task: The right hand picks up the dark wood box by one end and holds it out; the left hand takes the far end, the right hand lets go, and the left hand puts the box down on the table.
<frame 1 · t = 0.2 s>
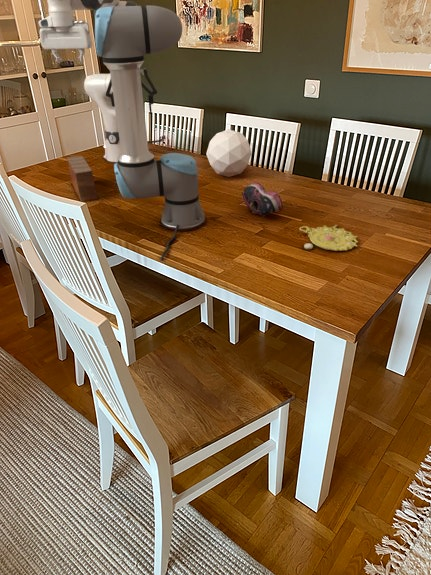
left hand: (70, 62, 174), 47 cm above the table, tool pointing down, fingers open, 8 cm apart
right hand: (134, 114, 180), 28 cm above the table, tool pointing down, fingers open, 13 cm apart
box: (84, 191, 185), on the table
athletic shoe: (257, 211, 163), on the table
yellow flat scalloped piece: (328, 239, 142), on the table
sphere: (229, 174, 198), on the table
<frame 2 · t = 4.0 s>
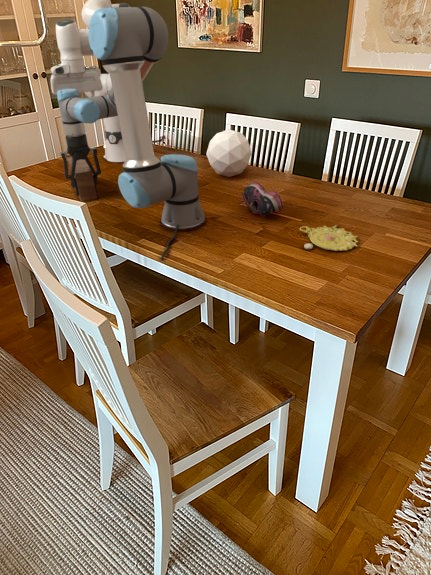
left hand: (80, 104, 184), 31 cm above the table, tool pointing down, fingers open, 8 cm apart
right hand: (86, 193, 177), 2 cm above the table, tool pointing down, fingers closed on box, 6 cm apart
box: (84, 191, 185), on the table, touching right hand
everything else where it was.
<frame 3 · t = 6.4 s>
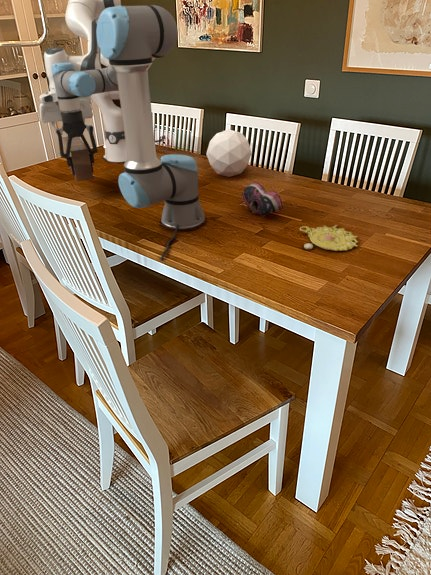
left hand: (70, 131, 180), 23 cm above the table, tool pointing down, fingers open, 8 cm apart
right hand: (82, 172, 173), 10 cm above the table, tool pointing down, fingers closed on box, 6 cm apart
box: (80, 171, 181), point 8 cm above the table, touching right hand
everything else where it was.
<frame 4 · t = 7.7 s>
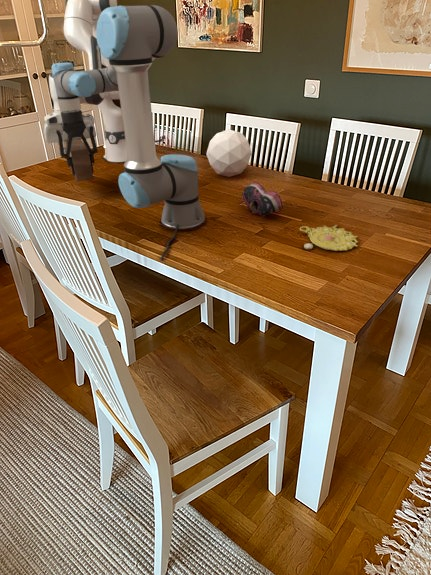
left hand: (73, 151, 184), 15 cm above the table, tool pointing down, fingers closed on box, 6 cm apart
right hand: (83, 172, 173), 10 cm above the table, tool pointing down, fingers closed on box, 6 cm apart
box: (80, 171, 181), point 8 cm above the table, touching right hand, left hand
everything else where it was.
when the right hand's fingers open (10 cm above the table, at t = 8.8 s): box stays where it is, held by the left hand.
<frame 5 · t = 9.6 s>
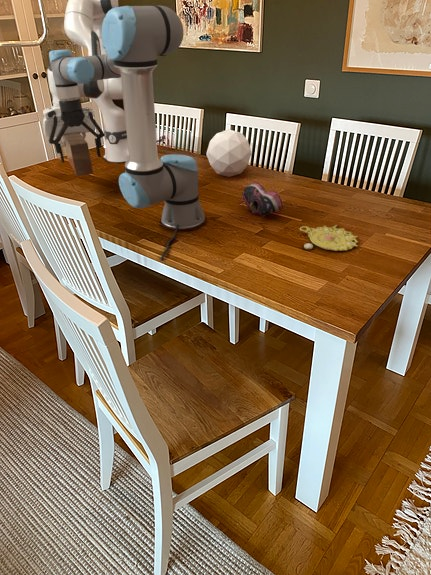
left hand: (73, 145, 183), 17 cm above the table, tool pointing down, fingers closed on box, 6 cm apart
right hand: (81, 159, 168), 16 cm above the table, tool pointing down, fingers open, 13 cm apart
box: (79, 166, 180), point 11 cm above the table, touching left hand
everything else where it was.
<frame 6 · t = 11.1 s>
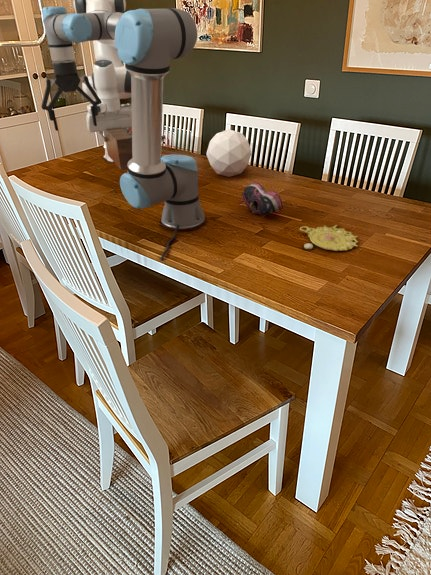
left hand: (114, 140, 186), 17 cm above the table, tool pointing down, fingers closed on box, 6 cm apart
right hand: (76, 127, 158), 29 cm above the table, tool pointing down, fingers open, 13 cm apart
box: (121, 161, 183), point 11 cm above the table, touching left hand
everything else where it was.
when the left hand's fingers open (7 cm above the table, at t = 14.5 s): box stays where it is, on the table.
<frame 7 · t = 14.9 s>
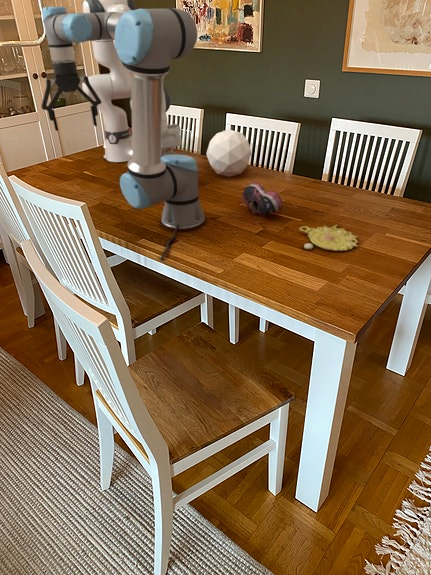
left hand: (160, 158, 195), 8 cm above the table, tool pointing down, fingers open, 8 cm apart
right hand: (76, 127, 158), 29 cm above the table, tool pointing down, fingers open, 13 cm apart
box: (168, 181, 193), on the table
everything else where it was.
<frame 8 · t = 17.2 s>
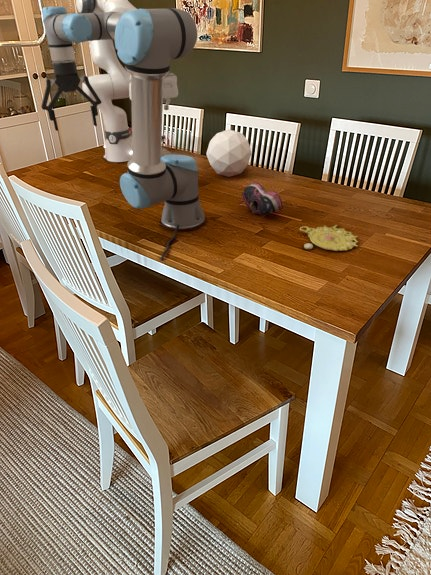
left hand: (155, 111, 184), 28 cm above the table, tool pointing down, fingers open, 8 cm apart
right hand: (76, 127, 158), 29 cm above the table, tool pointing down, fingers open, 13 cm apart
nothing on the table moved.
at the end: box inside the target area (8.3 cm from its centre), on the table; the left hand is holding nothing; the right hand is holding nothing; box at rest at the end (0.0 cm/s) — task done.
